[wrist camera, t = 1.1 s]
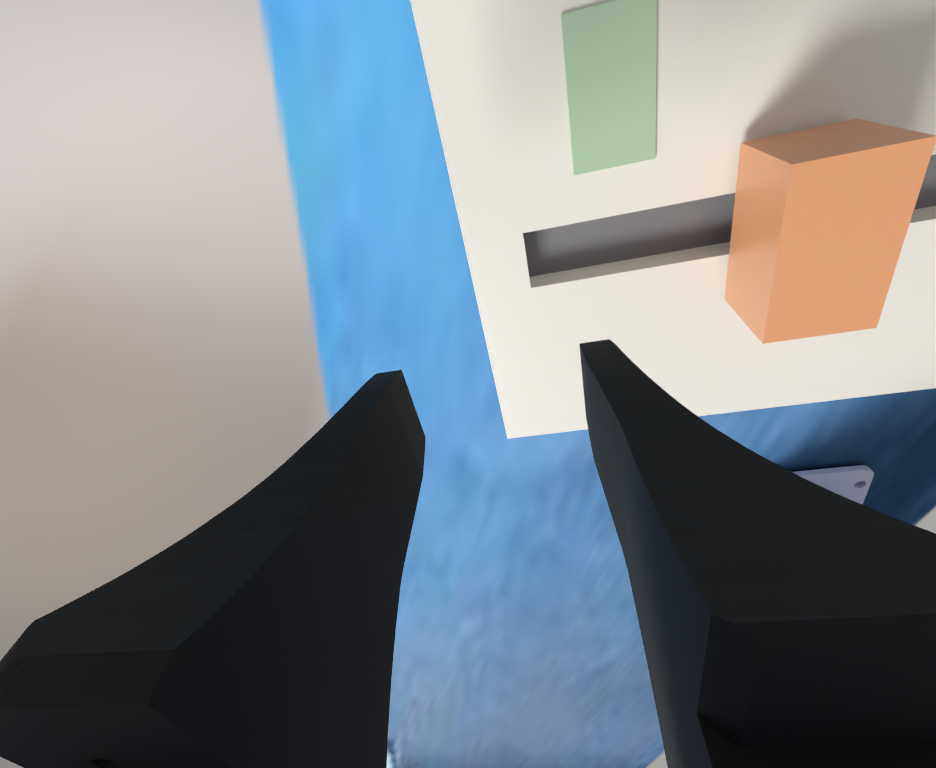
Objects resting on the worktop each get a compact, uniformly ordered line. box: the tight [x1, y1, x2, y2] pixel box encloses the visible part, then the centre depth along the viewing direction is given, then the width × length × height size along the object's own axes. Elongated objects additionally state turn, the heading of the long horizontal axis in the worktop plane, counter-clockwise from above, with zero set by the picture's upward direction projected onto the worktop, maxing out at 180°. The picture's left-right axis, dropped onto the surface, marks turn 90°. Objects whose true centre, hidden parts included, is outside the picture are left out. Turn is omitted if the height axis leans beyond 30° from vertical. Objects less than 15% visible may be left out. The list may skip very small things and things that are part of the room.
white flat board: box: [410, 0, 936, 439], centre depth 16 cm, size 16×20×2 cm
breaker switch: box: [724, 119, 936, 344], centre depth 14 cm, size 5×3×4 cm, turn 12°
